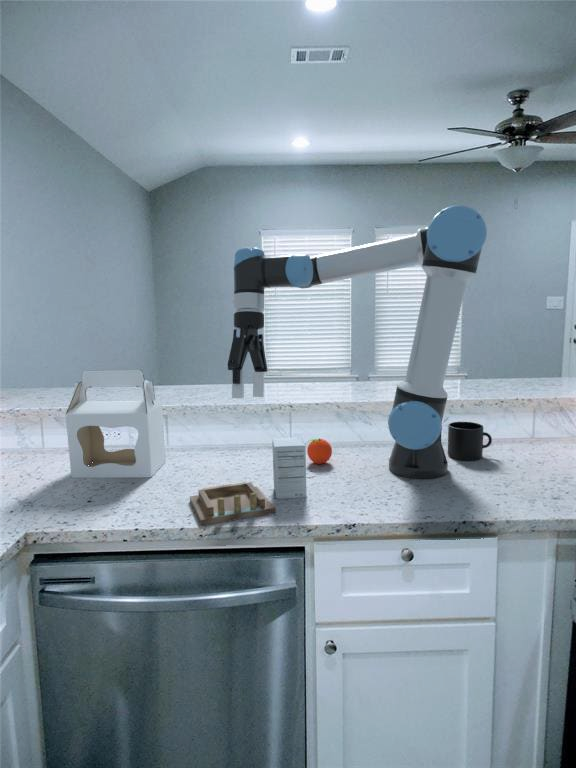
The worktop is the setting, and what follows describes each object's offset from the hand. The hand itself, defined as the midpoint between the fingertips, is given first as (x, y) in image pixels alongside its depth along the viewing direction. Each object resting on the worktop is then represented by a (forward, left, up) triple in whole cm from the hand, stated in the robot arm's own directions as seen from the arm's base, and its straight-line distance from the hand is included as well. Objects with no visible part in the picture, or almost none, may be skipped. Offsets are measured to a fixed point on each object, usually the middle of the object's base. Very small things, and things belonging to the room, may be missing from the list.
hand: (248, 397), depth 126 cm
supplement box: (-6, +12, -22) cm, 25 cm away
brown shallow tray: (+9, +15, -22) cm, 28 cm away
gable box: (+31, -23, -22) cm, 45 cm away
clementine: (-21, -6, -22) cm, 31 cm away
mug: (-63, +6, -22) cm, 67 cm away
